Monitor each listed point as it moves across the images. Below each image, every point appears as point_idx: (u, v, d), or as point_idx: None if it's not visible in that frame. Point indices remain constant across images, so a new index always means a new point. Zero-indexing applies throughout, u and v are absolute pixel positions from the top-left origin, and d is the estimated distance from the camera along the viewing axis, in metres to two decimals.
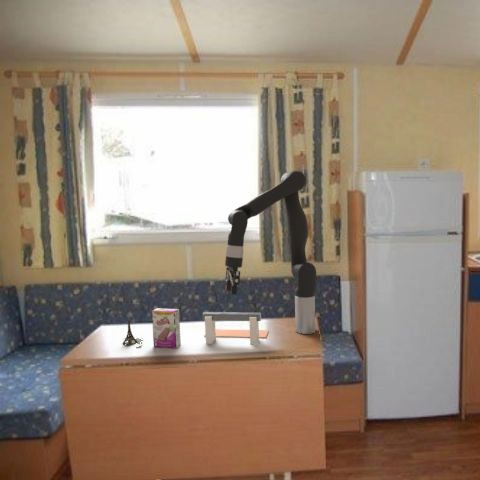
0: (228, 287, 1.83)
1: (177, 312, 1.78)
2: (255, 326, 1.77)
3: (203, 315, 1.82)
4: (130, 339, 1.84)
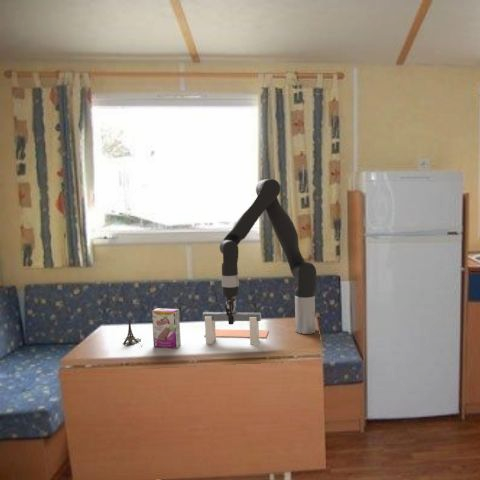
0: None
1: (177, 312, 1.78)
2: (255, 326, 1.77)
3: (203, 315, 1.82)
4: (131, 339, 1.84)
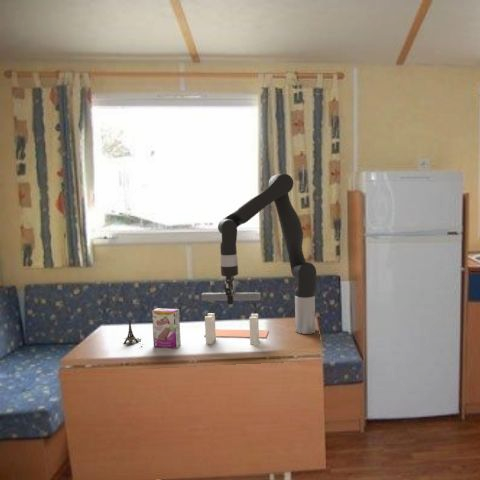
0: None
1: (177, 312, 1.78)
2: (255, 326, 1.77)
3: (202, 295, 1.82)
4: (131, 339, 1.84)
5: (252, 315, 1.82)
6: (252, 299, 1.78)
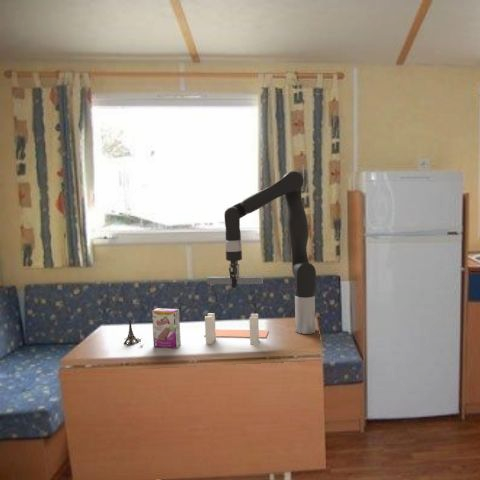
0: None
1: (177, 312, 1.78)
2: (255, 326, 1.77)
3: (208, 279, 1.91)
4: (131, 339, 1.84)
5: (252, 315, 1.82)
6: (255, 282, 1.88)
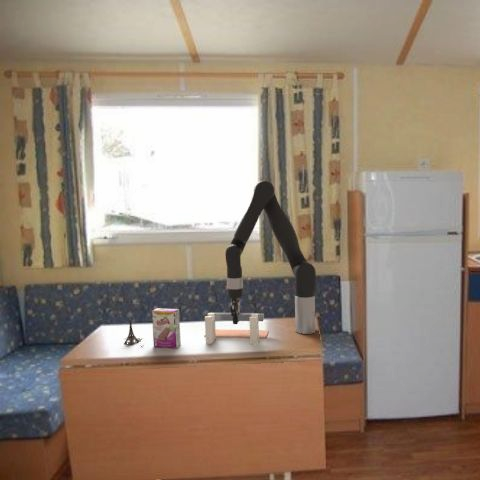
0: None
1: (177, 312, 1.78)
2: (255, 326, 1.77)
3: None
4: (132, 339, 1.84)
5: (252, 315, 1.82)
6: None
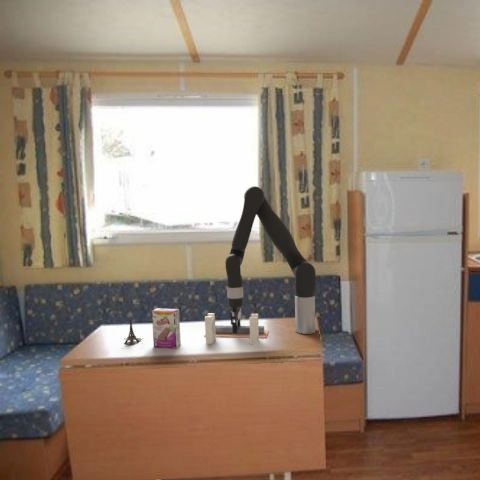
0: (237, 324, 1.96)
1: (177, 312, 1.78)
2: (255, 326, 1.77)
3: None
4: (132, 339, 1.85)
5: (252, 315, 1.82)
6: None
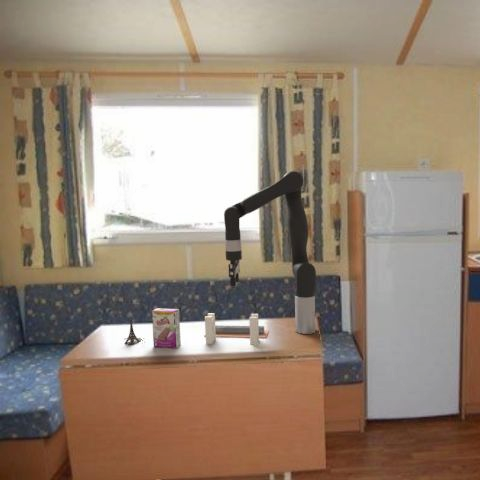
0: (235, 279, 1.95)
1: (177, 312, 1.78)
2: (255, 326, 1.77)
3: None
4: (132, 338, 1.85)
5: (252, 315, 1.82)
6: None
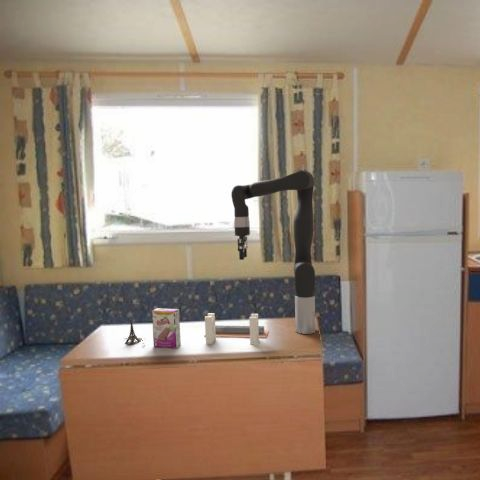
0: (243, 254, 2.07)
1: (177, 312, 1.78)
2: (255, 326, 1.77)
3: None
4: (133, 338, 1.85)
5: (252, 315, 1.82)
6: None
